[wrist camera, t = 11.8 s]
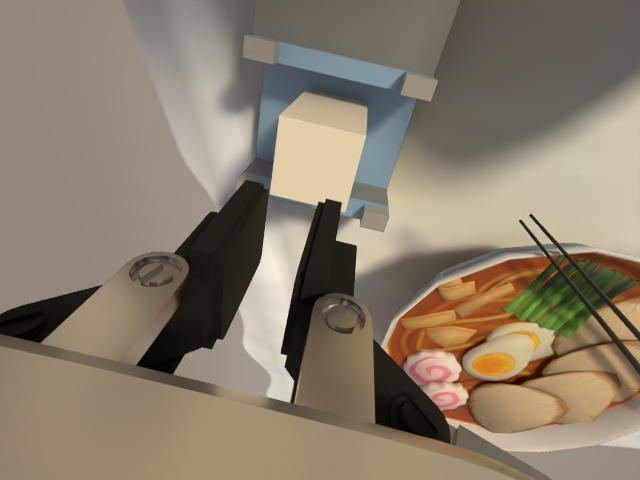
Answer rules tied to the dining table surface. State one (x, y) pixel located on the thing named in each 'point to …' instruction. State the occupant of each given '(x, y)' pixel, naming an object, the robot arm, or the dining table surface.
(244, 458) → the robot arm
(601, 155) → the dining table surface
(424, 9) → the grey tiered shelf stand
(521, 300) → the ramen bowl
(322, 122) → the plug
